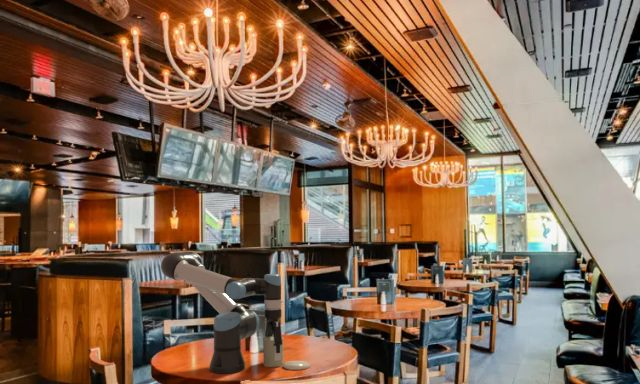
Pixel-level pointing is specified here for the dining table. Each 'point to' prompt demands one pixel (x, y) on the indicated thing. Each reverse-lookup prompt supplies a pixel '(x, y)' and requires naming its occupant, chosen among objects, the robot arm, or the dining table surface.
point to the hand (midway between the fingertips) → (273, 356)
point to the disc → (296, 365)
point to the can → (271, 353)
